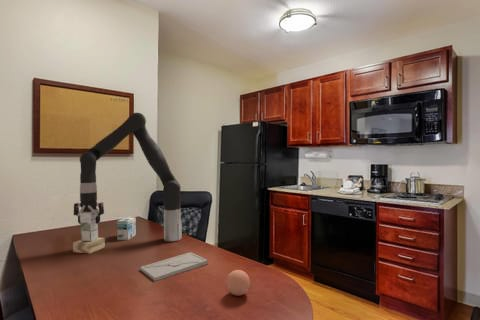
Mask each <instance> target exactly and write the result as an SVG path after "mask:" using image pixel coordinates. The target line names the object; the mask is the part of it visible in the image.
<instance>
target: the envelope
mask: <svg viewBox="0 0 480 320" xmlns="http://www.w3.org/2000/svg"><path fill="white" fill-rule="evenodd" d="M208 264H209V263H208V259H206V258H204V257H201V256H200V255H197V254H196V253H194V252H186V253H183V254H180V255H176V256H173V257H170V258H169V257H168V258H166V259H161V260H159V261H155V262H153V263H149V264H145V265H143V266H140V271H141V272H143V273H144V274H145V275H146V276H147V277H149V278H150V279H151V280H153V281H154V282H156V281H159V280H162V279H165V278H168V277H169V278H170V277H172V276H175V275H178V274H181V273H184V272H188V271H190V270H194V269H197V268H201V267H203V266H206V265H208Z"/></svg>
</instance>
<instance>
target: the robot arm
mask: <svg viewBox="0 0 480 320" xmlns="http://www.w3.org/2000/svg"><path fill="white" fill-rule="evenodd" d="M146 124H147V119H146V117H145V115H144V114H143V113H141V112H133V113H131V114H130V115H129V117H127V119H126V120H124V121H123V123H121V125H120V126H118V127H117V128H116V129H115V130H112V132H110V133H108V135H106V136H105V137H103V138H102V139H100V140H99V141H98V142H97V143H96V144H95V145H93V146H92V147H91V148H89V149H88V150H86V151H85V152H84V153H82V154H81V155H80V157H79V163H80V174H79V175H80V177H79V178H80V179H79V182H80V183H79V201H80V203H79V202H75V203H73V216H77V222H78V224H79V225H80V213H82V212H84V211H85V212H87V211H88V212H91V211H92V212H93V213H94V214H95V215H96V224H97V225H98V224H99V223H100V222H101V216H102V215H104V214H105V208H104V202H103V201H102V202H97V201H98V189H97V188H98V186H97V173H96V171H97V161H98V160H99V159H101V158H102V157H103V156H105V155H107V154H108V153H109V152H111V151H112V150H114V149H115V148H116V147H117V146H119V144H120V143H121V142H122V141H124V139H126V138H127V137H128V136H129V135H131V134H133V136H134V137H135V138H136V140H137V142H138V144H139V146H140V148H141V151H142V153H143V155H144V157H145V159H146V160H147V163H148V164H149V166H150V167H151V168H152V170H153V171H154V172H155V174H156V175H157V176H158V177H159V179H160V181H161V183H162V186H163V188H162V189H163V190H162V201H163V202H162V203H163V240H164V241H165V242H176V241H177V242H178V241H180V240H182V237H183V235H182V230H183V229H182V227H183V226H182V225H183V224H182V223H183V222H182V221H181V220H182V219H181V218H182V217H181V216H182V215H181V210H182V209H181V207H182V206H181V189H182V188H181V185H180V183H179V182H178V180H177V179H176V177H175V176H174V174H173V173H172V171H171V169H170V166H169V164H168V162H167V160H166V157H165V155H164V153H163V152H162V149H161V148H160V147H159V145H158V144H157V143H156V141H155V140H154V139H153V138H152V137H151V135H150V134H149V131H148V129H147V127H146ZM80 208H81V209H80Z"/></svg>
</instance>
